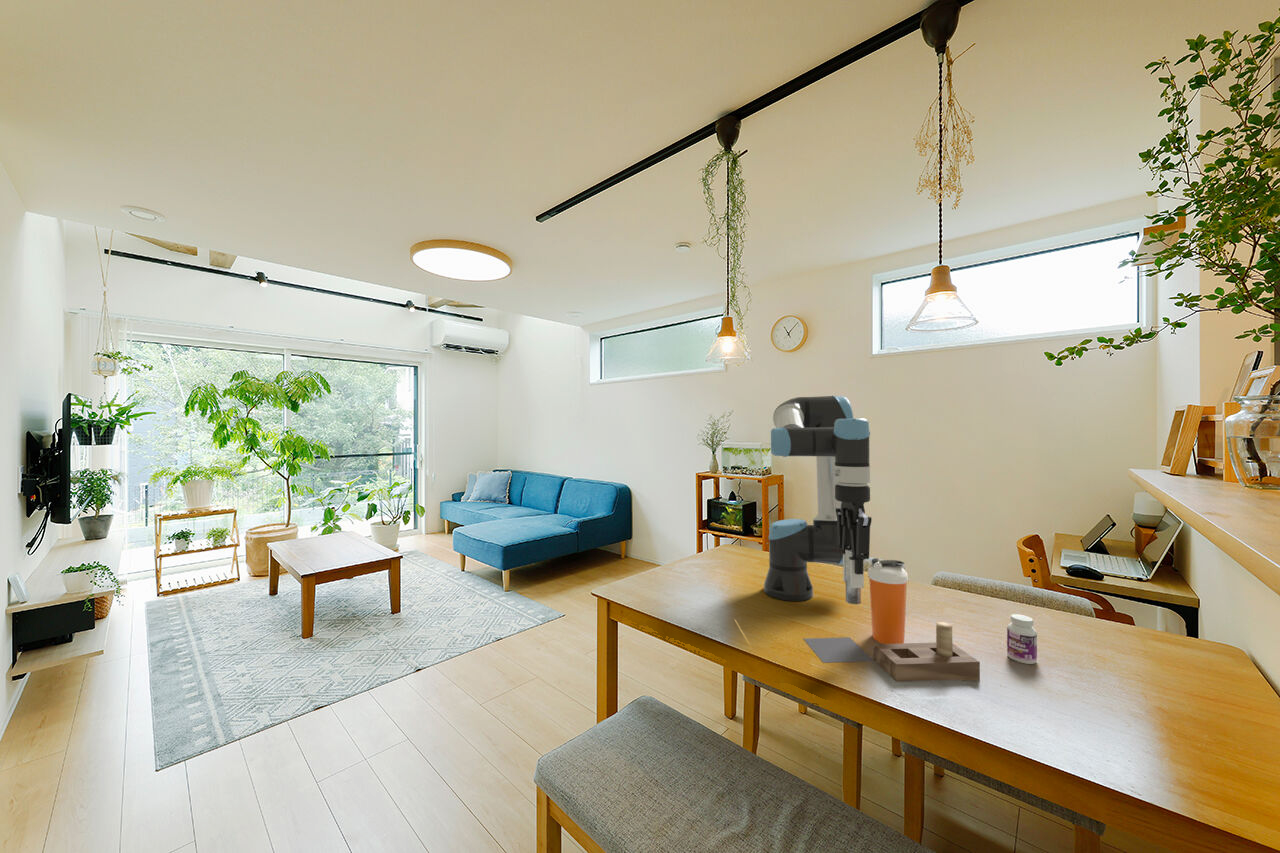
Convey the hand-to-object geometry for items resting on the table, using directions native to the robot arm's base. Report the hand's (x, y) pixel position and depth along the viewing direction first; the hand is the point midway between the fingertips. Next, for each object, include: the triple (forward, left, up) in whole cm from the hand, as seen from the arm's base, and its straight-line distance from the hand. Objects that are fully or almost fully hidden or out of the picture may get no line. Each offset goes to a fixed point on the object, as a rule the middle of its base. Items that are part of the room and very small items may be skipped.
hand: (853, 584), depth 110 cm
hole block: (+7, +12, -17) cm, 22 cm away
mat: (-3, -3, -17) cm, 18 cm away
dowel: (+7, +17, -17) cm, 25 cm away
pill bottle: (+3, +38, -17) cm, 42 cm away
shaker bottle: (-8, +13, -17) cm, 23 cm away
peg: (0, 0, -4) cm, 4 cm away
